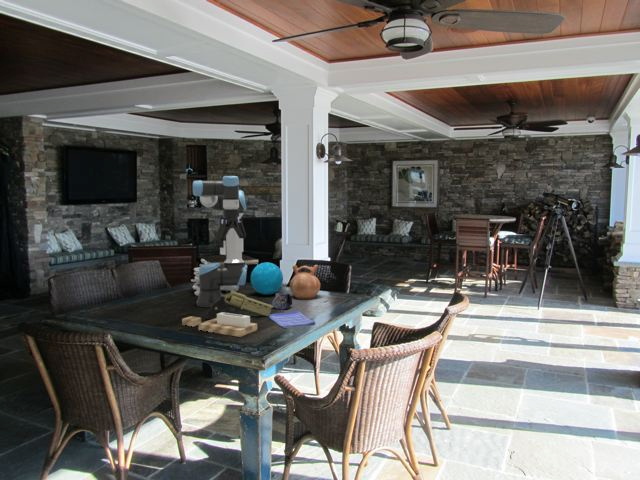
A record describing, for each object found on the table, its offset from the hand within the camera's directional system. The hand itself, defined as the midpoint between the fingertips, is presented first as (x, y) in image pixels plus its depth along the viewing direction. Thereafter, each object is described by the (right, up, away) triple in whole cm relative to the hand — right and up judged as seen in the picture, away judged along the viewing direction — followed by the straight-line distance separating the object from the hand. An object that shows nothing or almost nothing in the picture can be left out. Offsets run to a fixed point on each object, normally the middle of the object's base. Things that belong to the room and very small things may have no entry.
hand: (232, 253), depth 254 cm
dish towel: (+28, -35, +9) cm, 45 cm away
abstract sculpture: (-24, -27, +80) cm, 88 cm away
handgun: (+2, -34, +16) cm, 37 cm away
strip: (+2, -35, -10) cm, 37 cm away
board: (-1, -36, -8) cm, 37 cm away
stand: (-20, -35, +2) cm, 40 cm away
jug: (+33, -29, +66) cm, 79 cm away
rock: (+21, -31, +38) cm, 54 cm away
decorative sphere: (+9, -28, +74) cm, 80 cm away
